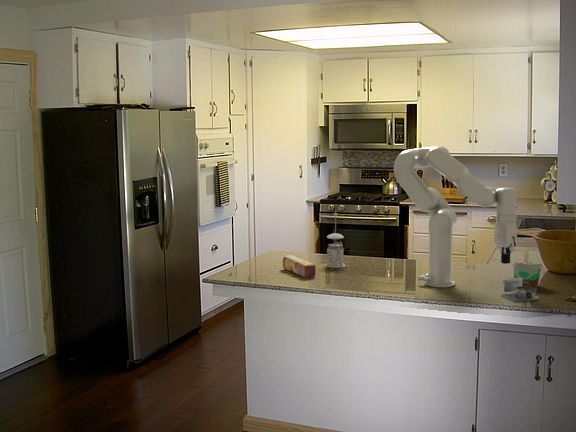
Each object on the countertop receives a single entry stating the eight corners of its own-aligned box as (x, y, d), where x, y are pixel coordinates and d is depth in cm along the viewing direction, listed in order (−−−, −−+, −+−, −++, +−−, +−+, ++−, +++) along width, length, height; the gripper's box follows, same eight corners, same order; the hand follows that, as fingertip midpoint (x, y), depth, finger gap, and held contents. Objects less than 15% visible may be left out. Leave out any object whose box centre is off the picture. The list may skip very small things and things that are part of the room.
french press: (340, 262, 343) (341, 211, 339) (350, 267, 332) (351, 214, 328) (321, 263, 340) (322, 212, 336) (330, 269, 329) (331, 215, 325)
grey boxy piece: (515, 296, 275) (515, 284, 274) (502, 291, 283) (502, 278, 283) (536, 295, 277) (537, 282, 277) (523, 289, 286) (523, 277, 285)
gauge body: (514, 302, 273) (514, 293, 272) (501, 296, 281) (501, 288, 281) (539, 300, 276) (539, 291, 275) (525, 294, 284) (526, 286, 284)
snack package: (317, 277, 313) (317, 262, 312) (303, 279, 310) (303, 264, 309) (294, 268, 332) (294, 253, 331) (281, 269, 329) (281, 255, 328)
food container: (509, 286, 296) (511, 263, 294) (510, 283, 302) (512, 260, 300) (541, 289, 292) (542, 265, 290) (541, 286, 297) (543, 262, 296)
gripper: (487, 216, 292) (487, 260, 294) (508, 221, 278) (507, 267, 280) (504, 215, 294) (503, 259, 296) (525, 220, 280) (524, 265, 282)
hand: (505, 263), depth 288 cm, fingers closed
